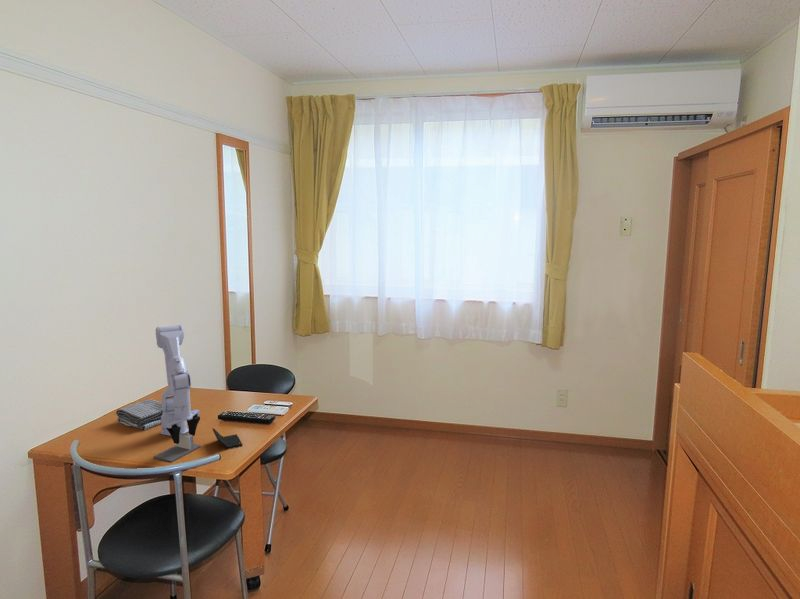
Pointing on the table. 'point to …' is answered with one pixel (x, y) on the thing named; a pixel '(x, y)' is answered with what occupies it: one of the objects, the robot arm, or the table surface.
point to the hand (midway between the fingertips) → (184, 439)
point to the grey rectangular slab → (175, 453)
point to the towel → (141, 414)
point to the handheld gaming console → (228, 440)
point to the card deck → (185, 441)
